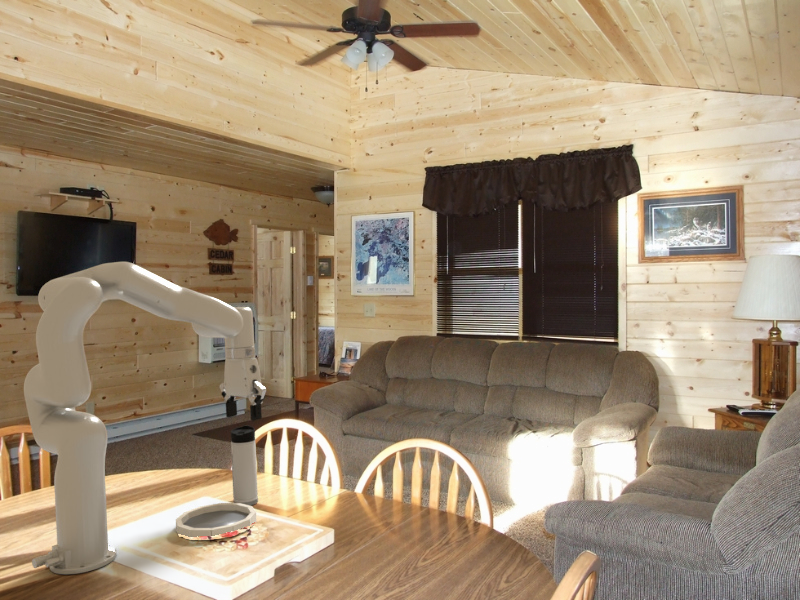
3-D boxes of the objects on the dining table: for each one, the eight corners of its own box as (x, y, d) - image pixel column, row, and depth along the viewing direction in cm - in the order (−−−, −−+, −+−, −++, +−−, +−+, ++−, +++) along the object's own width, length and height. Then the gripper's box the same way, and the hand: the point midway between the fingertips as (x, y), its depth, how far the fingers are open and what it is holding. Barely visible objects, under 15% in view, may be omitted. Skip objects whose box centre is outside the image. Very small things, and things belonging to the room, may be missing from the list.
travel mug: (261, 498, 170) (258, 424, 170) (253, 507, 164) (250, 430, 164) (238, 498, 171) (235, 425, 171) (230, 507, 164) (226, 430, 164)
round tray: (209, 547, 139) (209, 535, 139) (161, 531, 149) (160, 520, 149) (270, 520, 153) (270, 510, 153) (222, 508, 164) (222, 498, 164)
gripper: (273, 352, 165) (277, 417, 165) (230, 351, 175) (233, 412, 176) (251, 356, 159) (255, 424, 159) (207, 354, 169) (211, 418, 169)
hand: (243, 417), depth 167 cm, fingers open, 9 cm apart
